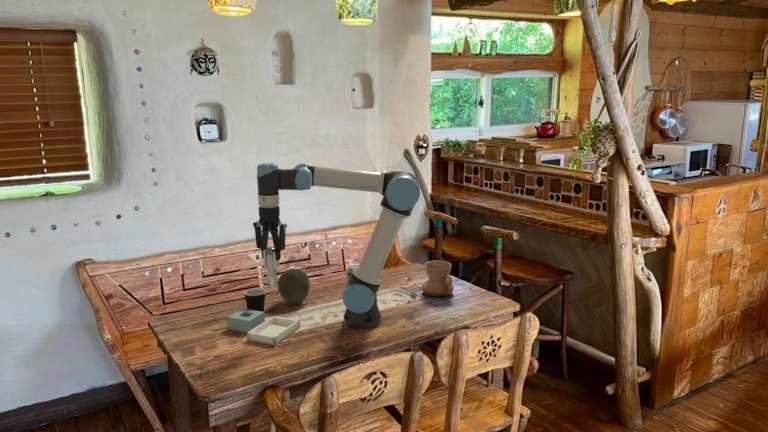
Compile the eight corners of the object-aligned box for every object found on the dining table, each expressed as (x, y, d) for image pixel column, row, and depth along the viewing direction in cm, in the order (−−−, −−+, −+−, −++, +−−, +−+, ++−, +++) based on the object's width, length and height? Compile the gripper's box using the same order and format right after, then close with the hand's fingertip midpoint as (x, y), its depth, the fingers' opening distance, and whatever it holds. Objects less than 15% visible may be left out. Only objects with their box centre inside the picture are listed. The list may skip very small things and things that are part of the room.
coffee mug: (261, 319, 240) (260, 296, 238) (241, 318, 242) (240, 295, 240) (272, 309, 251) (271, 287, 249) (253, 308, 253) (252, 286, 251)
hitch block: (264, 323, 236) (264, 312, 235) (250, 333, 227) (249, 320, 226) (243, 320, 240) (243, 308, 239) (228, 329, 231) (227, 317, 230)
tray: (300, 327, 232) (299, 320, 231) (274, 345, 216) (274, 337, 215) (274, 323, 236) (273, 316, 236) (247, 340, 220) (246, 332, 220)
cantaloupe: (316, 303, 258) (315, 270, 255) (286, 310, 250) (285, 276, 247) (301, 295, 270) (300, 263, 267) (273, 301, 262) (271, 268, 259)
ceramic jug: (414, 291, 275) (414, 261, 272) (439, 285, 282) (440, 257, 279) (436, 303, 260) (437, 272, 257) (463, 297, 267) (463, 267, 264)
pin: (279, 286, 223) (277, 247, 220) (273, 289, 220) (272, 250, 217) (271, 285, 225) (269, 246, 222) (265, 287, 221) (263, 249, 218)
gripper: (243, 206, 216) (247, 267, 221) (282, 209, 209) (285, 272, 214) (255, 202, 223) (258, 262, 227) (294, 205, 216) (296, 267, 221)
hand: (271, 267), depth 221 cm, fingers closed on pin, 4 cm apart
